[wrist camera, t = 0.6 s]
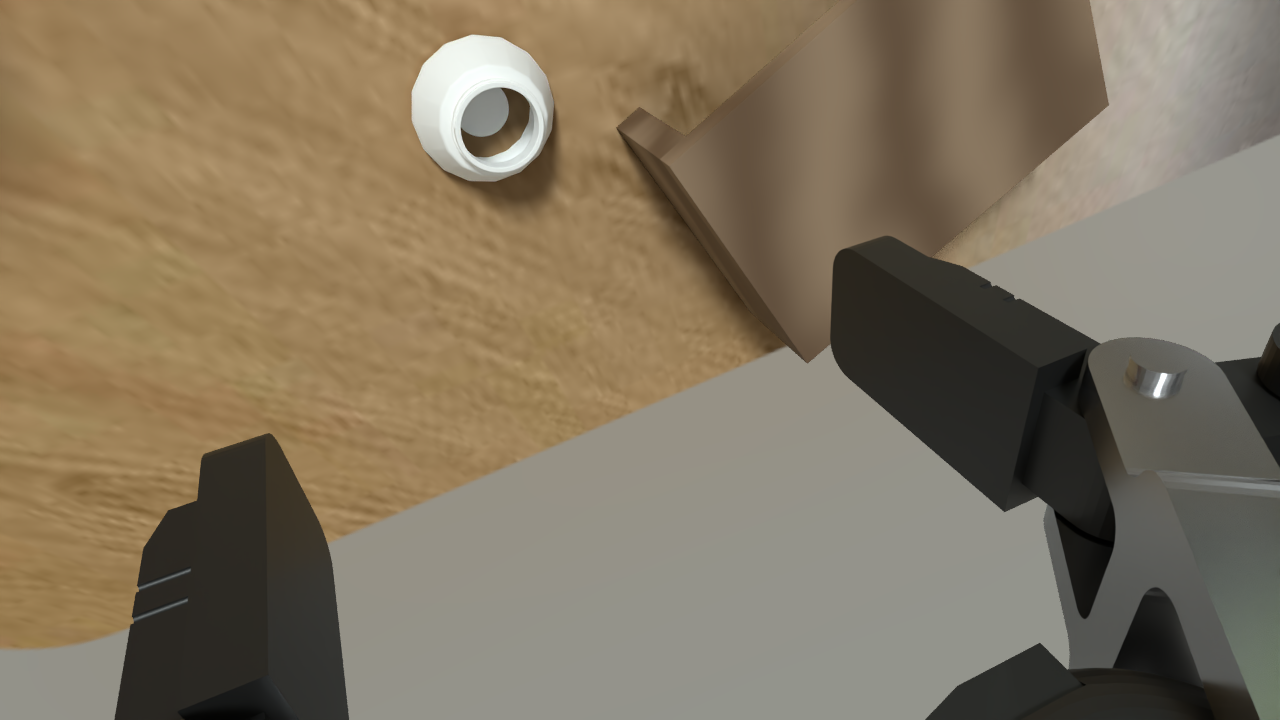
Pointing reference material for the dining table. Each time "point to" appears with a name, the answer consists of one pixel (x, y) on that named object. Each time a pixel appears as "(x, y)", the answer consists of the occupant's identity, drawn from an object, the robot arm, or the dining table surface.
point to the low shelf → (873, 141)
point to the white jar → (479, 105)
